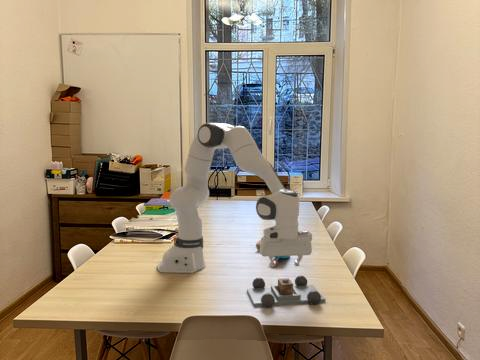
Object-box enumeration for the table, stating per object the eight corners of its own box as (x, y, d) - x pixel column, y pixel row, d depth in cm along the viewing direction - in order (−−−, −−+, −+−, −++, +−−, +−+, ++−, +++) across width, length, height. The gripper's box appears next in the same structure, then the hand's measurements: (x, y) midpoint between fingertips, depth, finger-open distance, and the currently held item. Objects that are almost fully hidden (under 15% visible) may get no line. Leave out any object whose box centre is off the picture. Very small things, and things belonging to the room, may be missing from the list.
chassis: (254, 308, 156) (255, 295, 155) (246, 289, 173) (246, 278, 172) (327, 303, 161) (327, 291, 160) (311, 286, 178) (312, 274, 177)
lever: (276, 264, 217) (265, 266, 201) (277, 251, 218) (267, 251, 202) (289, 266, 215) (279, 268, 198) (290, 252, 216) (281, 253, 199)
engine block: (281, 296, 163) (282, 282, 163) (277, 290, 169) (278, 276, 169) (292, 296, 164) (293, 282, 163) (288, 290, 170) (288, 276, 169)
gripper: (309, 229, 168) (308, 262, 170) (259, 230, 164) (258, 264, 167) (315, 233, 162) (313, 268, 164) (262, 234, 158) (261, 269, 160)
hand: (285, 266), depth 165 cm, fingers open, 8 cm apart
